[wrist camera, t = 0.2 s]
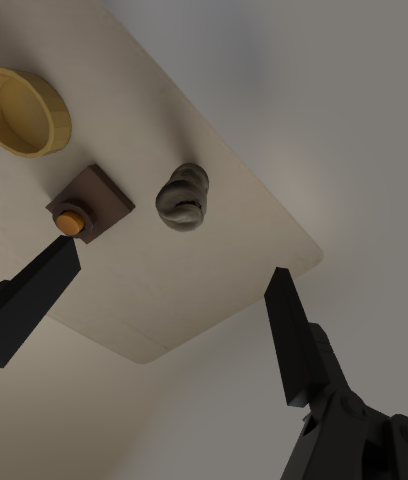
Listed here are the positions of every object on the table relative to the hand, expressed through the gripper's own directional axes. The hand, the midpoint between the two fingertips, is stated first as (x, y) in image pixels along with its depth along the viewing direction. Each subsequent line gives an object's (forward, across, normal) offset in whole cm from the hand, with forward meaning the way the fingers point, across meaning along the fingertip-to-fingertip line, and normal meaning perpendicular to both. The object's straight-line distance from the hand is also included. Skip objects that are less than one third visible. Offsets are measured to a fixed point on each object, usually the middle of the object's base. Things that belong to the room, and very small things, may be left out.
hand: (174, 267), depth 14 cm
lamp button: (+19, -20, -11) cm, 30 cm away
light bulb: (+23, -1, -1) cm, 23 cm away
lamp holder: (+24, -25, +3) cm, 35 cm away
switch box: (+23, -18, -10) cm, 31 cm away
